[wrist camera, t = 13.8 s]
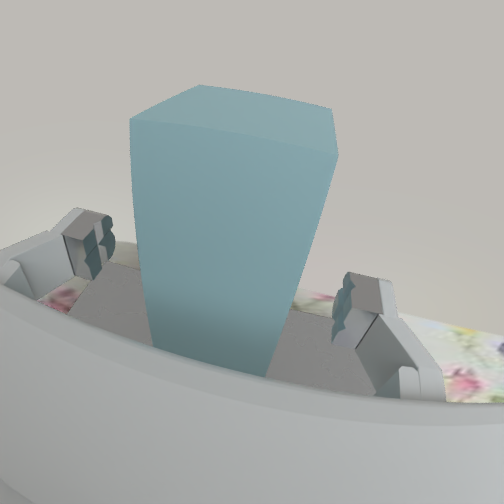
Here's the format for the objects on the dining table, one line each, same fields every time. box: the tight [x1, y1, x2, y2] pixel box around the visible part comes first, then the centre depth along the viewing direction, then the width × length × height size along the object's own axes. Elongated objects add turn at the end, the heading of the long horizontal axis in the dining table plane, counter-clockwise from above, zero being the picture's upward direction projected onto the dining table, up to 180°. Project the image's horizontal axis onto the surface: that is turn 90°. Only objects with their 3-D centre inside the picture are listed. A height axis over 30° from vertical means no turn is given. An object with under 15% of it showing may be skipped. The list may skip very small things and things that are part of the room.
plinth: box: [67, 261, 376, 396], centre depth 19 cm, size 22×12×4 cm, turn 79°
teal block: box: [130, 85, 338, 377], centre depth 13 cm, size 5×5×14 cm
